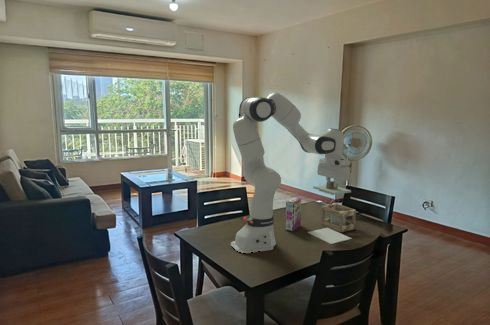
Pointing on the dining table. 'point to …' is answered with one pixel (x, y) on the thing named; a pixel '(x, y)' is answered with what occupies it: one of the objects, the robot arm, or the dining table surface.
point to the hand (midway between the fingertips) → (331, 186)
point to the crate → (335, 212)
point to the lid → (331, 189)
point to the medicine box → (336, 220)
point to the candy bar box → (293, 214)
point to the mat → (329, 235)
